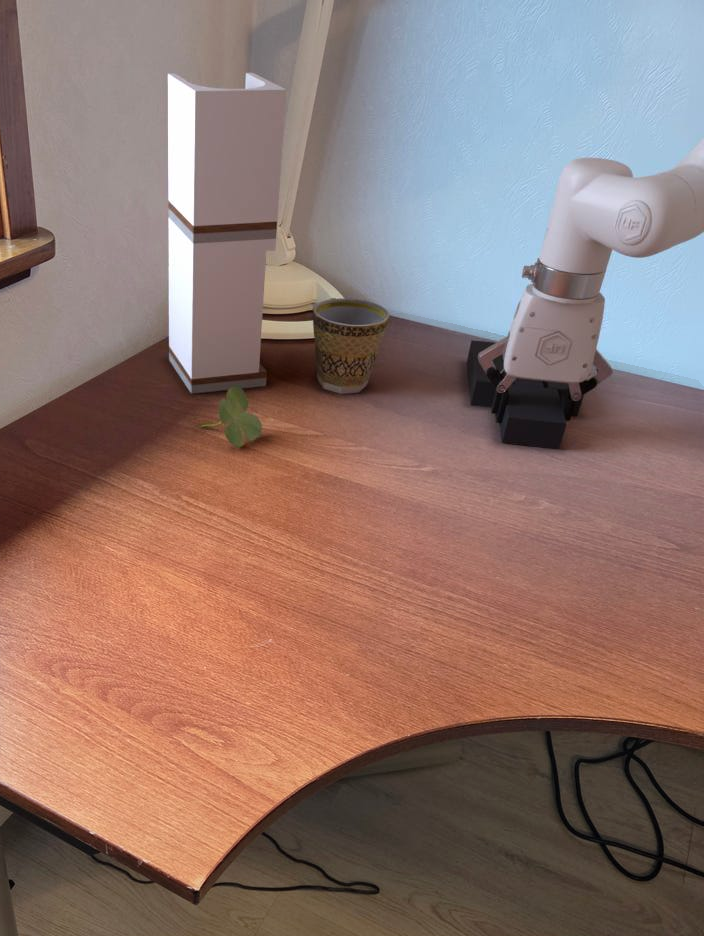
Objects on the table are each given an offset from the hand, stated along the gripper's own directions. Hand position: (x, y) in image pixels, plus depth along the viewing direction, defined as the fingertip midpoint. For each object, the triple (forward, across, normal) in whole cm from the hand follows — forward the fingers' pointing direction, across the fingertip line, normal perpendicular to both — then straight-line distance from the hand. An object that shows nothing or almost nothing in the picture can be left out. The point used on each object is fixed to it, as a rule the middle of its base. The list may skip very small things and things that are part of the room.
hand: (528, 420), depth 115 cm
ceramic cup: (+1, -25, +9) cm, 27 cm away
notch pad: (+1, 0, +12) cm, 12 cm away
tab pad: (+1, 0, +2) cm, 2 cm away
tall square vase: (+1, -42, +7) cm, 43 cm away
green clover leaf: (+1, -37, -10) cm, 38 cm away
